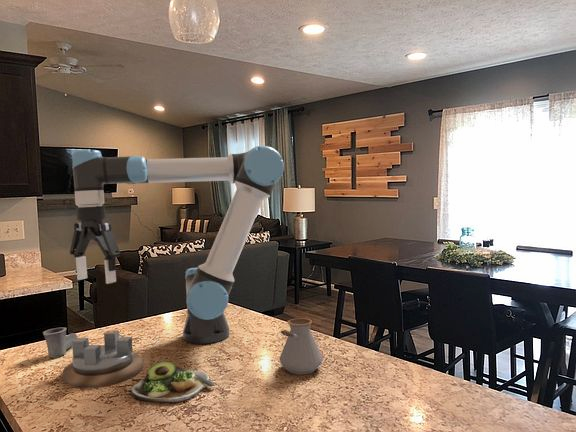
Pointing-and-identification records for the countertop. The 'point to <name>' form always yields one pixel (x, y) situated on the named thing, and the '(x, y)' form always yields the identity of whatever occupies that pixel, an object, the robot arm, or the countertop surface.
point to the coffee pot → (300, 348)
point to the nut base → (102, 375)
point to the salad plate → (170, 383)
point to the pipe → (58, 341)
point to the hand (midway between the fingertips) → (96, 280)
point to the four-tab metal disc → (102, 354)
